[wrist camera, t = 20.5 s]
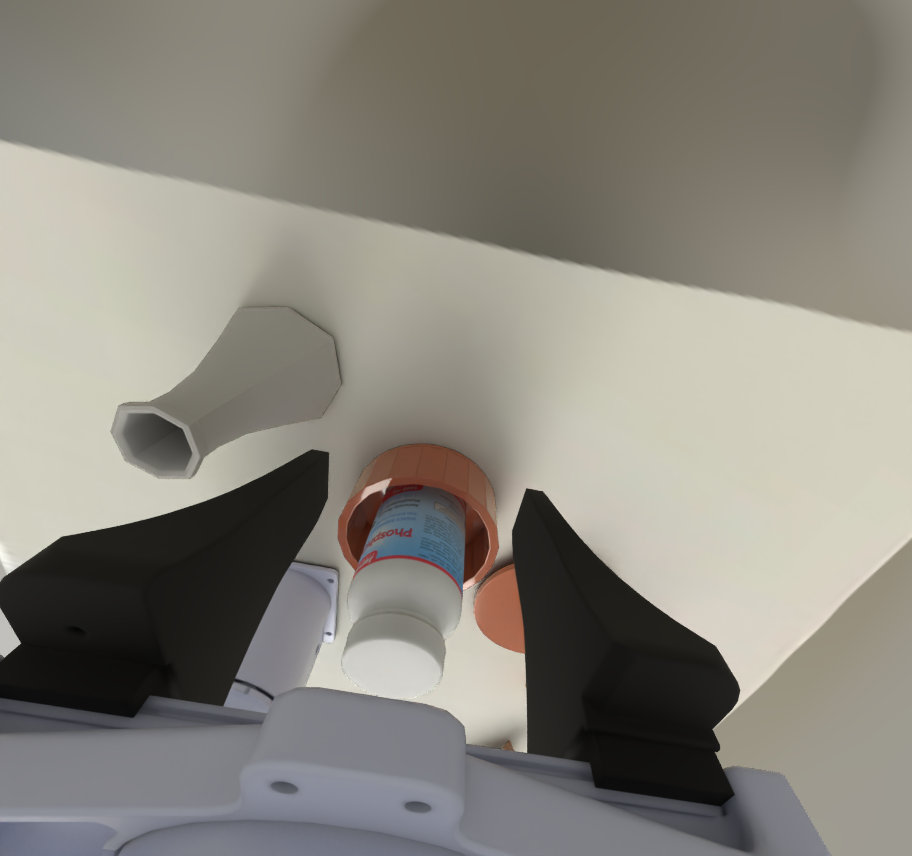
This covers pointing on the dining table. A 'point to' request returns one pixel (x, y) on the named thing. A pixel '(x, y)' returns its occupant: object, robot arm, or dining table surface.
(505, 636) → the lid
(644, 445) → the dining table surface
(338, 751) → the robot arm
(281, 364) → the flask
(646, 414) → the dining table surface
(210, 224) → the dining table surface
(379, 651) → the pill bottle
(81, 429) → the dining table surface
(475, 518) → the bowl
